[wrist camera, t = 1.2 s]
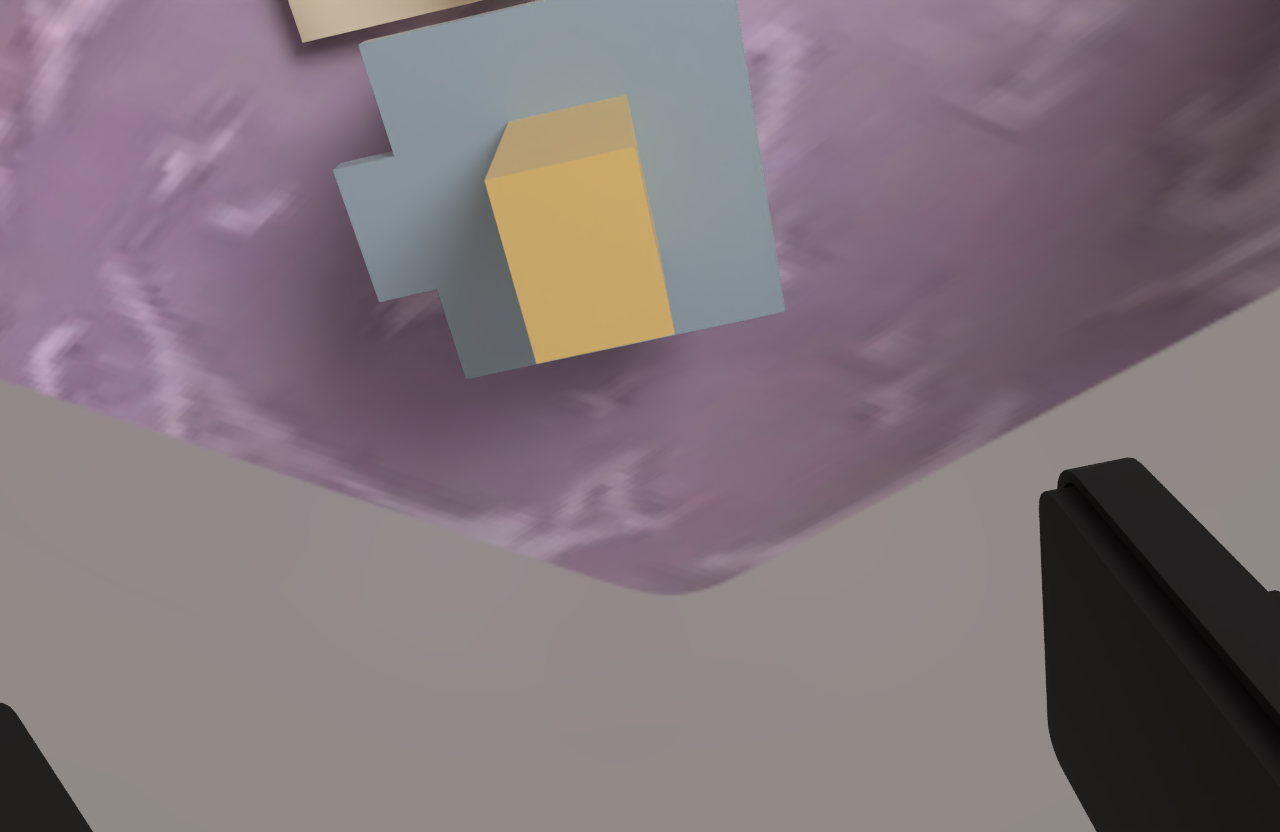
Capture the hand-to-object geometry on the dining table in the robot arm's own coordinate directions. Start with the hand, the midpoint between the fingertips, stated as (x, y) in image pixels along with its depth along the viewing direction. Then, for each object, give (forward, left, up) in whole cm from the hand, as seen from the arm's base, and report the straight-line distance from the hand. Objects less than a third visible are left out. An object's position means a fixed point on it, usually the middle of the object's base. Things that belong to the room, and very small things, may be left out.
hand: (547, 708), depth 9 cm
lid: (0, 0, -20) cm, 20 cm away
